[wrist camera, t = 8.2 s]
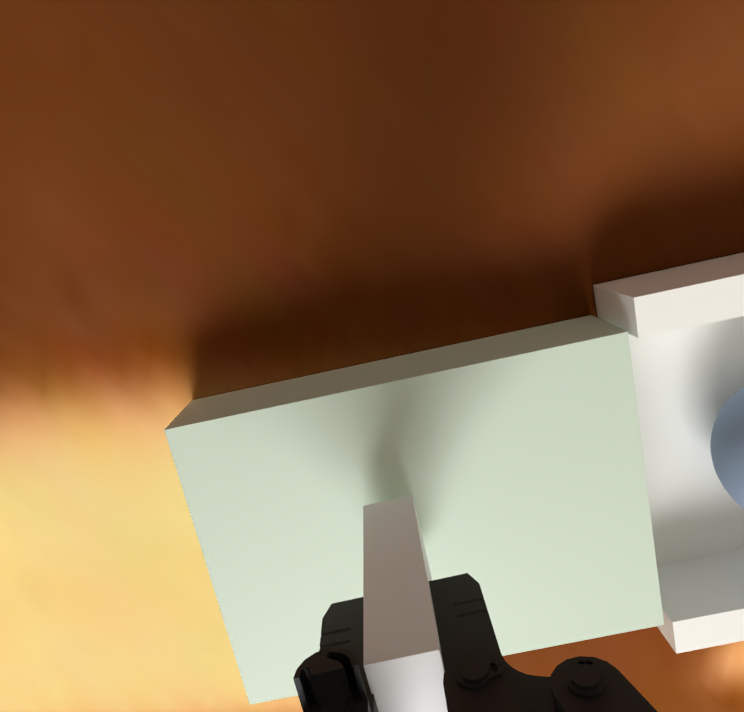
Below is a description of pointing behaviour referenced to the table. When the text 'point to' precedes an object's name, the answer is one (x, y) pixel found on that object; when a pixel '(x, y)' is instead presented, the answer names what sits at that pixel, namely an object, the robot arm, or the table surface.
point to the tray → (687, 436)
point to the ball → (730, 446)
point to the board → (429, 490)
